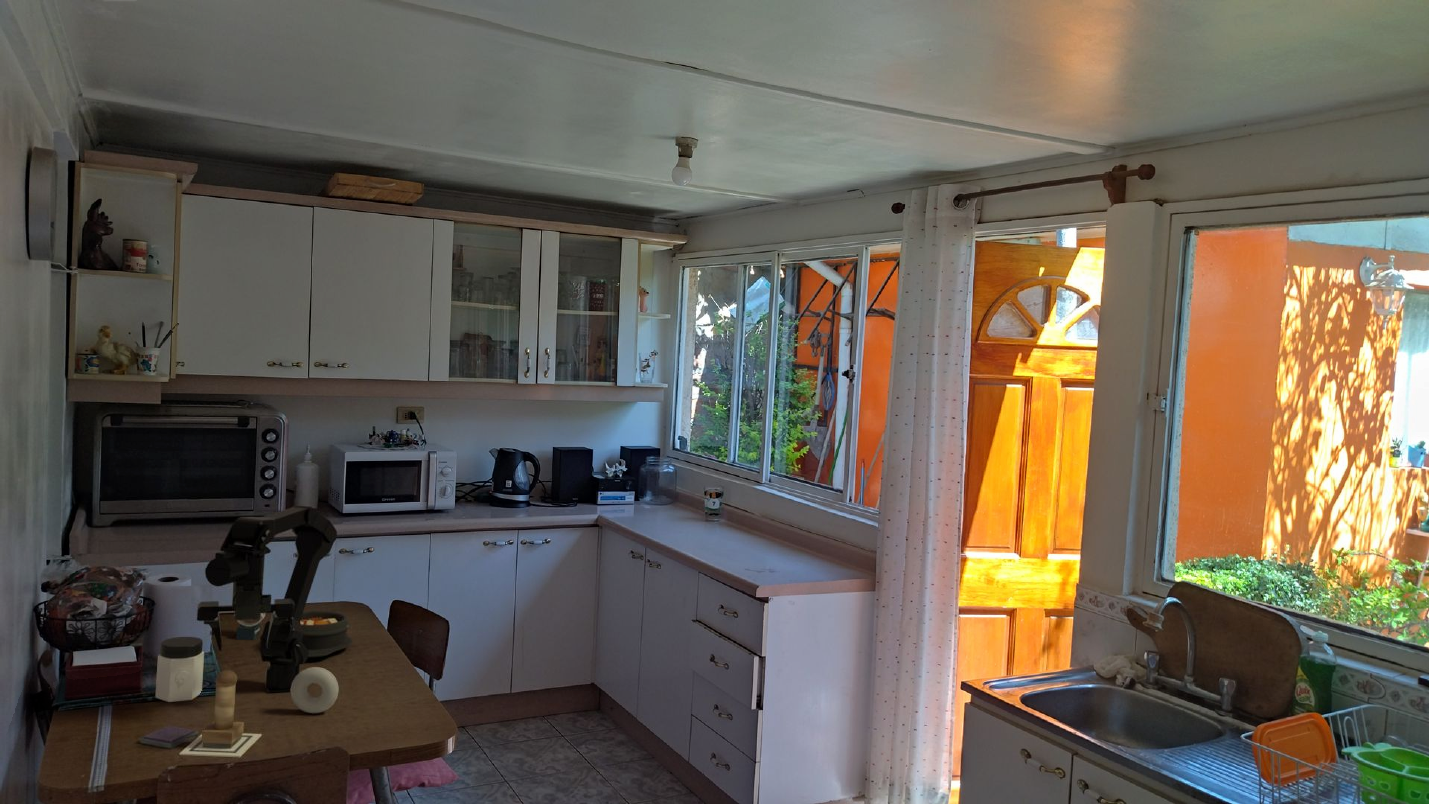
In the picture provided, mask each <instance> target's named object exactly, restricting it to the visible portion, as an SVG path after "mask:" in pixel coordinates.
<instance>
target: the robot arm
mask: <svg viewBox="0 0 1429 804" xmlns="http://www.w3.org/2000/svg"><path fill="white" fill-rule="evenodd" d="M287 531H291V532H292V533H293V534H294V535H295V536H296V537H295V542H294V545H295V549H296V552H297V558H296V561H295V563H294V566H293V570H292V573H291V575H290V580H289V582H288V586H287V588H286V592H285V594H284V598H276V599H274V600H273V603H272V594H270V593H269V594H263V590H264V575H265V573H264V572H265V557H266V556H265V555H267V554H270V553H271V551H272V550H271V549H270V548H269V547H268V546H267V545H269V544H270V543H272V542H273V541H274V540H275V536H277V535H279V534H282V533H284V532H287ZM337 537H338V531H337V529H336V528H335V526H334V524H333V523H332V522H331V521H330V520H329V519H328V518H326V517H325V516H323V515H322V514H320V513H319V512H318V510H317V509H316V508H314V507H313V506H310V505H309V506H308V505H299V504H296V505H292V506H291V507H289V508H287V509H283V510H280V511H277V512H273V513H271V514H268V515H266V516H265V515H264V516H240V517H238V518H237V519H236V520H234V523H233V524H232V525H231V526H230V529H229V531H228V533H227V535H226V537H225V539H224V541H223V542H222V545H221V546H220V549H219V551H218V552H215V553H214V554H215V556H214V558H213V559H211V560H210V561H209V562H208V563H207V565H206V567H205V570H204V574H205V578H206V580H207V582H208V583H209V584H210V585H212V586H215V587H222V586H226V585H229V584H233V586H232V587H233V588H232V600H231V601H232V603H231V605H227V604H226V605H220V604H219V603H220V602H219V601H218V600H216V601H215V600H212V601H210V600H209V601H200V602H199V603H198V604H197V610H196V611H197V612H196V613H197V614H196V621H198V622H203V624H204V625H208V626H209V627H210V629H211V630H212V632H213V635H214V638H215V641H216V645H217V647H218V652H221V651H222V646H223V645H222V630H221V619H220V616H221V615H223V616H224V615H225V616H226V615H234V614H235V616H234V619H235V620H236V621H237V620H243V621H244V620H252V621H254V620H255V621H256V620H260V619H261V618H260V614H261V613H266V614H271V615H270V621H269V620H267V621H266V623H265V624H264V627H263V631H262V634H260V637H259V639H260V640H259V643H258V648H259V653H260V657H261V658H260V659H261V661H262V662H263V663H264V662H266V663H268V666H266V668H265V683H264V684H265V685H264V686H265V688H266V690H267V693H271V694H272V693H282V692H283V693H285V692H291V691H290V689H291V685H292V682H293V680H294V679H295V677H296V675H298V674H299V673H300V665H304V664H305V662H307V660H308V659H309V657H308V654H309V651H308V649H307V648H306V647H305V645H304V644H303V643H302V639H303V630H302V626H301V623H300V620H301V617H302V614H303V612H305V607H306V604H307V601H308V598H309V595H310V593H311V589H312V586H313V583H314V580H315V577H316V574H317V570H318V567H319V563H320V562H321V560H323V559H324V558H325V557H326V556H327V555H328V554H329V553H330V552H331V551H332V548H333V546H334V543H335V541H336V540H337Z"/></svg>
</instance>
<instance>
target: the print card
mask: <svg viewBox="0 0 1429 804" xmlns="http://www.w3.org/2000/svg"><path fill="white" fill-rule="evenodd" d="M261 737H262V733H246V732H245V733H244V732H243V734H242V738H241V739H240V740H239V741H238V742H237V743H236V744H235V745H234V746H233V747H232V748H231V749H227V748H203V743H202V733H201V734H200V735H198V736H197V737H196V738H195V739H194V740H193V741H192V742H191V743H189V744H188V745H187V746H186V747H185V748H184V749H183V750H182V751H180V752H179V753H178V754H179V756H196V757H199V756H200V757H220V758H221V757H224V758H241V757H242V756H243V755H244V754H245V753H246V752H247V751H248V750H249V748H251V747H252V746H253V744H255V743H256V742H257V741H258V739H260V738H261Z"/></svg>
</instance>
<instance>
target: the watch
mask: <svg viewBox="0 0 1429 804" xmlns="http://www.w3.org/2000/svg"><path fill="white" fill-rule="evenodd" d="M266 614H267V613H261V614H260V618H259V619H258V620H259V621H257V622H246V621H245V620H244V619H243V620H236V621H237V623H238V624H240V625H239V626H237V627H236V635H235V636H236V637H235V640H237V641H238V640H240V641H244V640H245V641H254V640H256V639H257V637H259V636H261V623H262V621H264V620H263V619H264V618H265V616H266ZM233 616H234V617H235V614H233Z"/></svg>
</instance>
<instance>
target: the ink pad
mask: <svg viewBox="0 0 1429 804" xmlns="http://www.w3.org/2000/svg"><path fill="white" fill-rule="evenodd" d="M198 732H199V731H198V730H195V729H189V728H183V727H177V726H173V725H172V726H171V725H166V726H164V727H161V728H159V729H157V730H155V731H152V732H151V733H148V734H146V735H143V736H141V737H139V744H144V745H148V746H155V747H158V748H165V749H169V748H171V749H173V748H175V747H177V746H180V745H181V743H182V744H184V743H186V742H188V741H189V740H192V739H194V738H198V734H199V733H198Z"/></svg>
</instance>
